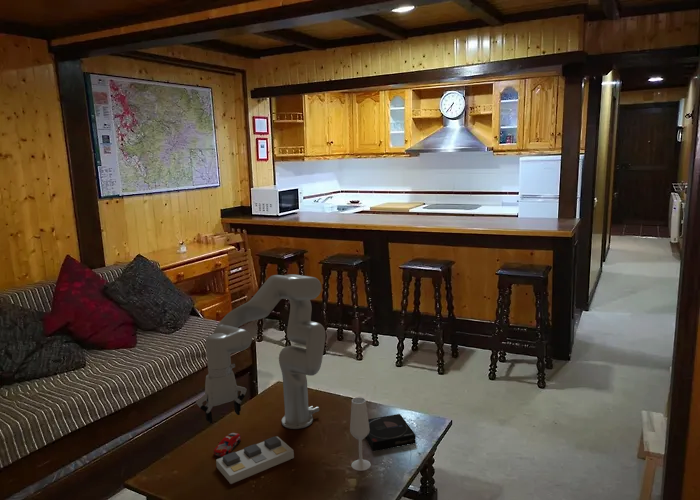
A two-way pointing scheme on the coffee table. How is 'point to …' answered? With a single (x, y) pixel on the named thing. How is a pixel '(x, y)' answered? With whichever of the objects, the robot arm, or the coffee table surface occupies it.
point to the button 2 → (272, 443)
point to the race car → (227, 444)
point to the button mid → (252, 450)
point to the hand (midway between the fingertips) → (223, 417)
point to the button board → (255, 462)
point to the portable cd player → (389, 432)
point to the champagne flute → (359, 429)
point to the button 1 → (231, 459)
